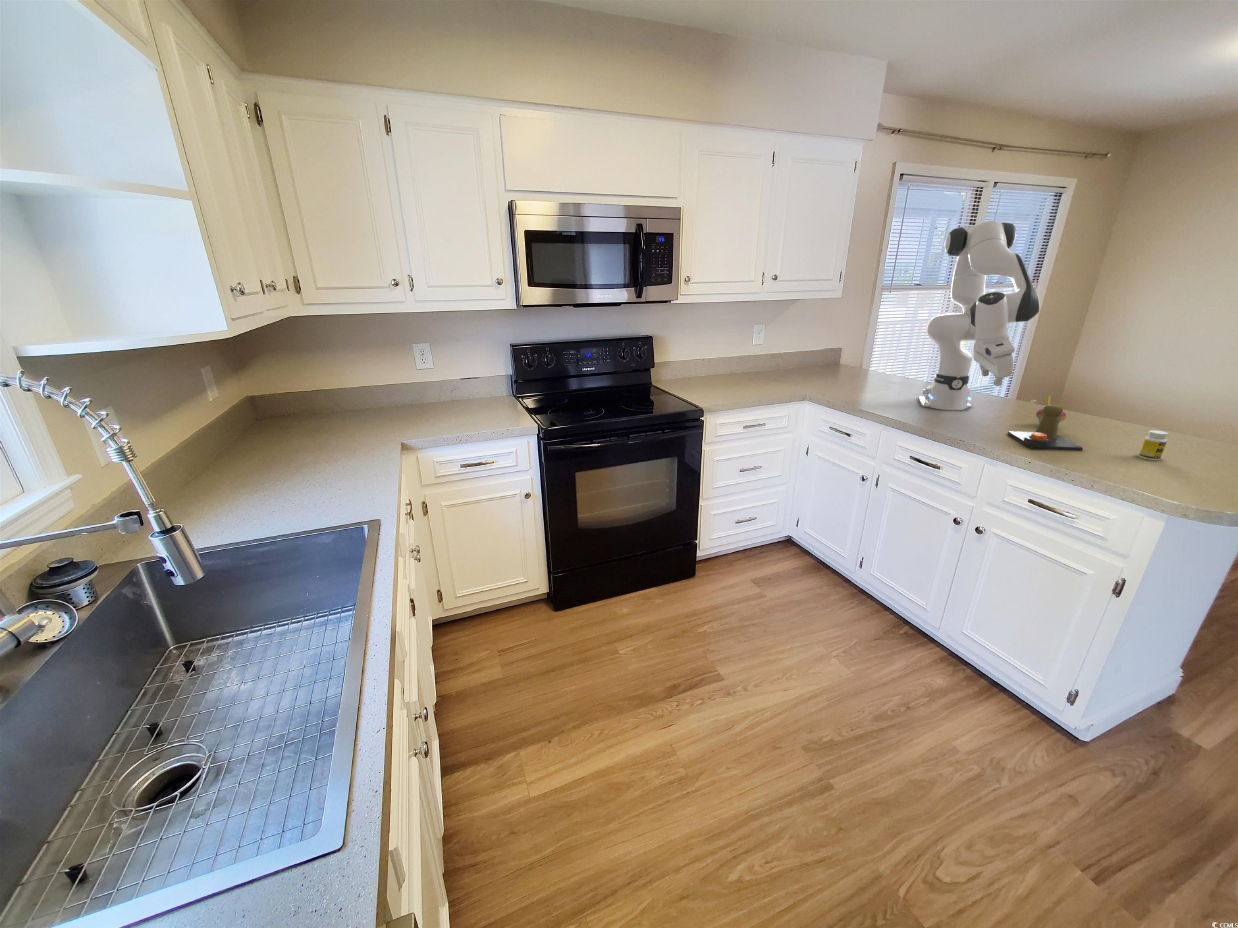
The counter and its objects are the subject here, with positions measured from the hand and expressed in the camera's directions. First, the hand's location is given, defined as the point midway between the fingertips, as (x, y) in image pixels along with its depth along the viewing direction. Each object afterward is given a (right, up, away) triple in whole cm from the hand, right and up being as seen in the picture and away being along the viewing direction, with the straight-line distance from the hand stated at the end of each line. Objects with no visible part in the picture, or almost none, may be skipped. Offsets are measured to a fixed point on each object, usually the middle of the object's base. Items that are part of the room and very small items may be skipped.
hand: (991, 380), depth 172 cm
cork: (+17, -20, -2) cm, 27 cm away
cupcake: (+30, -16, +12) cm, 36 cm away
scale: (+15, -22, -3) cm, 27 cm away
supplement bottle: (+34, -28, -20) cm, 48 cm away
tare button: (+9, -21, -8) cm, 24 cm away
